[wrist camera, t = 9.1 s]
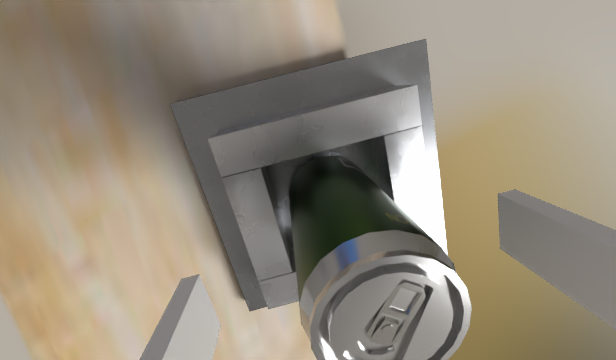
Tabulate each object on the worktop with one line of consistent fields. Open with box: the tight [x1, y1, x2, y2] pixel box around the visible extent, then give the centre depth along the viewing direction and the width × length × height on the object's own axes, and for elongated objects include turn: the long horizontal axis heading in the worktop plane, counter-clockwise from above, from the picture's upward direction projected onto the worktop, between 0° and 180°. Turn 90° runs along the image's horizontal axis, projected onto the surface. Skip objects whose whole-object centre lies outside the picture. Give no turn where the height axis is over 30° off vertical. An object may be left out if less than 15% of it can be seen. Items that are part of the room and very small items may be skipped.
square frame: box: [170, 39, 448, 311], centre depth 19 cm, size 16×16×4 cm
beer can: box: [289, 156, 472, 360], centre depth 14 cm, size 5×5×12 cm
